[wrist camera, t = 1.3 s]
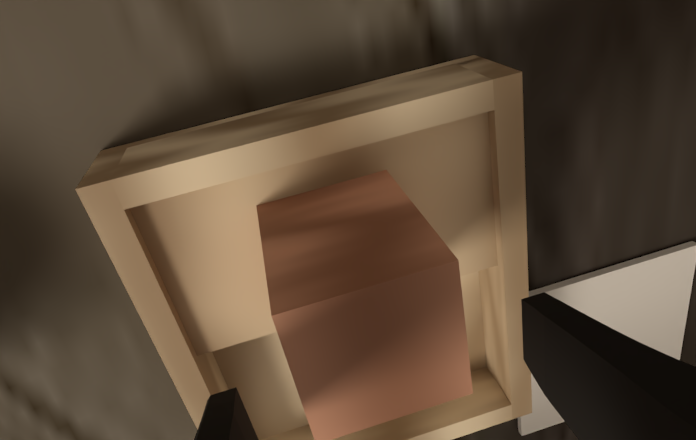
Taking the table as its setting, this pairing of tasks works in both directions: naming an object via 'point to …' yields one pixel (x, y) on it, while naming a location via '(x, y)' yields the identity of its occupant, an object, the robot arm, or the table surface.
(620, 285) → the grey mat
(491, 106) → the organiser box
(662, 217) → the table surface
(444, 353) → the terracotta block
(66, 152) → the table surface
